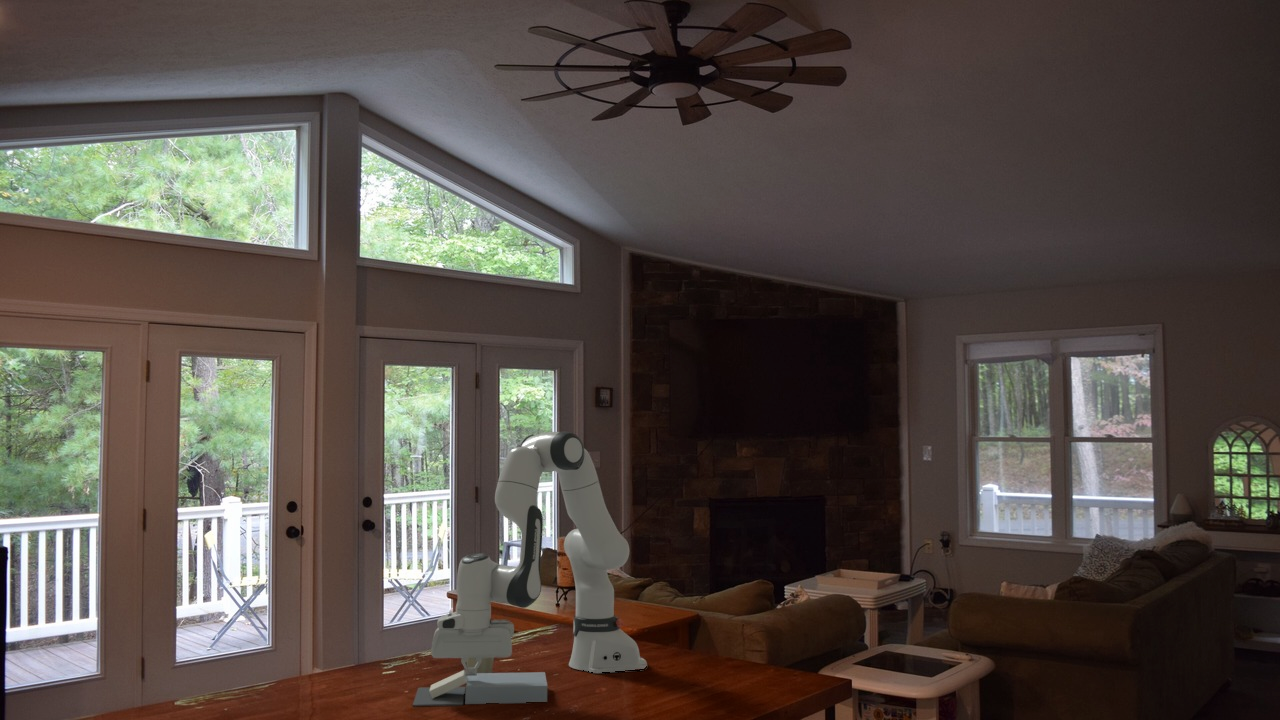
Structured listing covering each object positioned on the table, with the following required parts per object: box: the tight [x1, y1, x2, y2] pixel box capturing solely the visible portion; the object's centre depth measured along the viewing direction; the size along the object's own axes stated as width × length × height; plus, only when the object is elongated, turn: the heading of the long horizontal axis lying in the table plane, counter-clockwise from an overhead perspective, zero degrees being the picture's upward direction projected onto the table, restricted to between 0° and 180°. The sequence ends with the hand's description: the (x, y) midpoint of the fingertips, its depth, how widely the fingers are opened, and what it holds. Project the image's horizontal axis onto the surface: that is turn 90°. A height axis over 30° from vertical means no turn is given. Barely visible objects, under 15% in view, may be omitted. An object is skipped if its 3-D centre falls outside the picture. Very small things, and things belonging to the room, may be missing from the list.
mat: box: [412, 686, 466, 707], centre depth 243 cm, size 12×16×1 cm
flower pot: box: [466, 657, 495, 673], centre depth 264 cm, size 9×9×9 cm
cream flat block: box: [429, 669, 467, 699], centre depth 243 cm, size 9×6×2 cm, turn 99°
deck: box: [464, 671, 548, 705], centre depth 245 cm, size 20×14×4 cm
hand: (471, 675), depth 244 cm, fingers closed
